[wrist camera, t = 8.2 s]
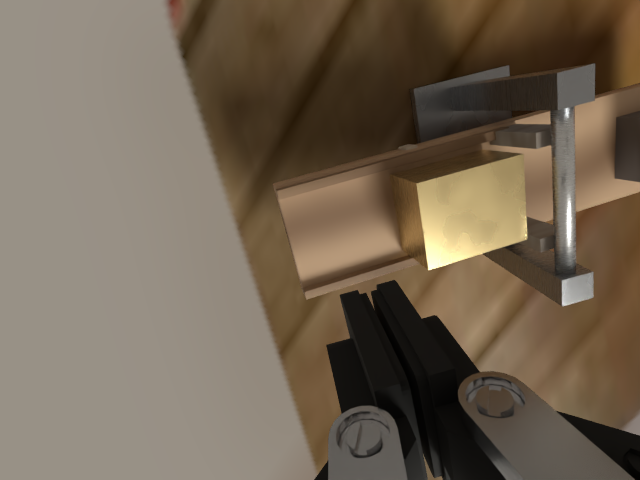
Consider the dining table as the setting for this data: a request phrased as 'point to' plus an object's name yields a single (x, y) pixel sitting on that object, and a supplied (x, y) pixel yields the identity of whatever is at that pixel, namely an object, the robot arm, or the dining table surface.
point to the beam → (508, 136)
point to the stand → (560, 98)
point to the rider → (460, 206)
